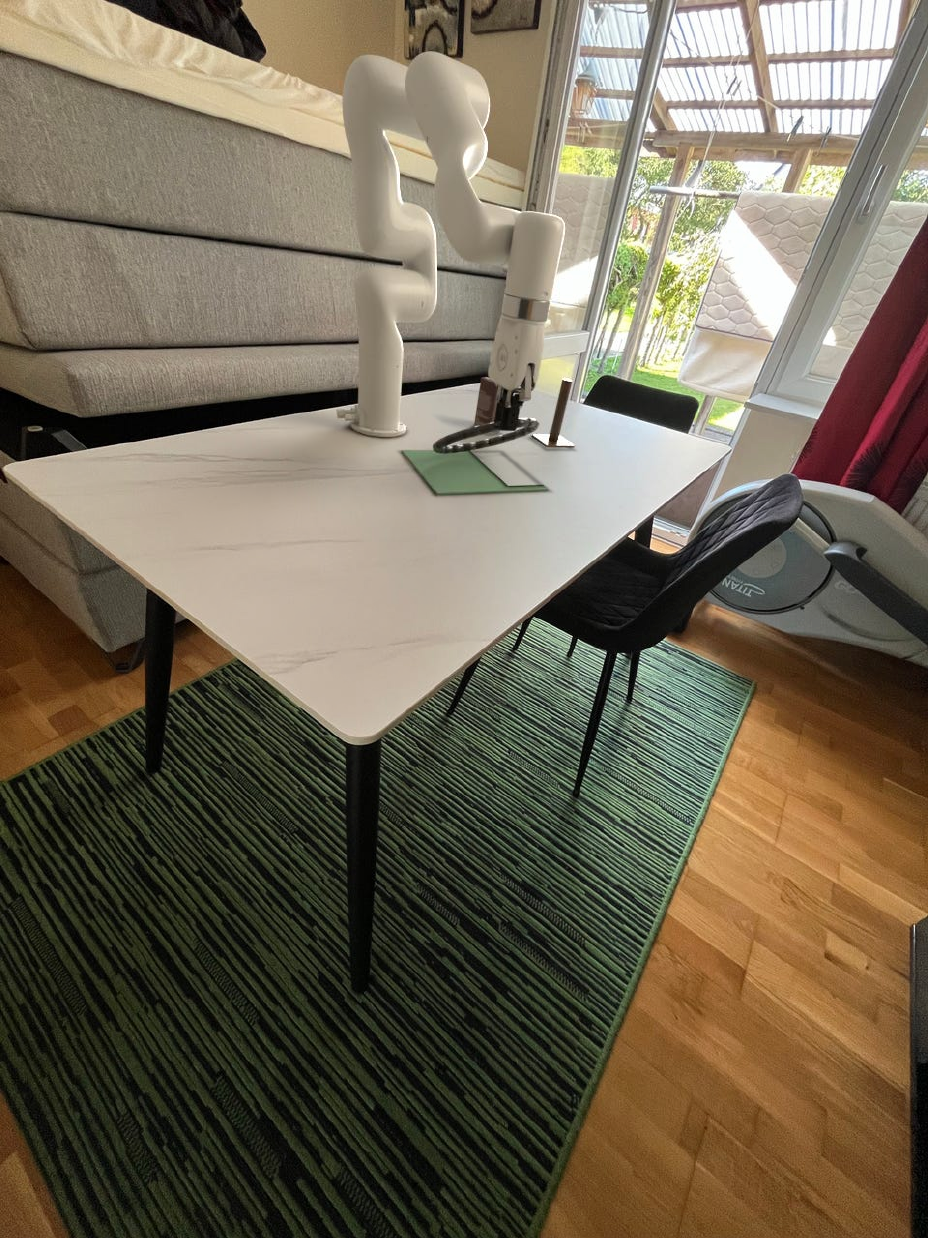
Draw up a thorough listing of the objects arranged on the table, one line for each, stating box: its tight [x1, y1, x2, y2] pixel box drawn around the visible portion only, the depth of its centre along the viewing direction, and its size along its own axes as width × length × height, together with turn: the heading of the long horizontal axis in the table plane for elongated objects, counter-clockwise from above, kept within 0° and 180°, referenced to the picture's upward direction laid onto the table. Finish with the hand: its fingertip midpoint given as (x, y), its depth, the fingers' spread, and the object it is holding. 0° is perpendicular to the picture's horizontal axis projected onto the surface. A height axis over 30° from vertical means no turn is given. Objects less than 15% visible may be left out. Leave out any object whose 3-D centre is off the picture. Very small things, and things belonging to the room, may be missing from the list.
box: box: [473, 377, 499, 427], centre depth 128 cm, size 6×4×12 cm
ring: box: [432, 417, 540, 454], centre depth 102 cm, size 21×21×2 cm
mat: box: [401, 449, 549, 496], centre depth 107 cm, size 24×22×1 cm
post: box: [531, 378, 576, 448], centre depth 125 cm, size 8×8×15 cm
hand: (504, 427), depth 93 cm, fingers closed on ring, 1 cm apart
